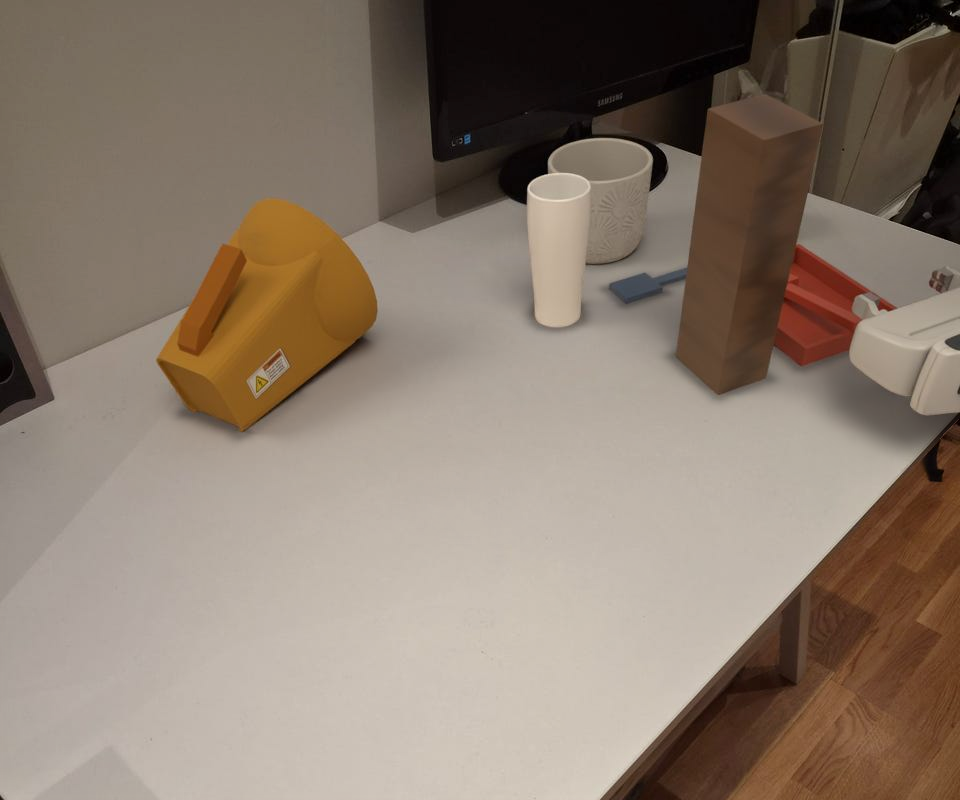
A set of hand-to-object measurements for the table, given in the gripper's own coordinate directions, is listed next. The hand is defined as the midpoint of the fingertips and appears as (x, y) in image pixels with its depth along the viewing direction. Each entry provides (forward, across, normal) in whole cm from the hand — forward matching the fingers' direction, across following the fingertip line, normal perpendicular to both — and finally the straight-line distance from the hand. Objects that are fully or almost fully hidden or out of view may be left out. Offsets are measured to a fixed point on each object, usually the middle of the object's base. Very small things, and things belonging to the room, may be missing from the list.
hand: (898, 287), depth 85 cm
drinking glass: (+25, +24, +9) cm, 36 cm away
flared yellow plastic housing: (+30, +57, +9) cm, 65 cm away
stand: (+7, +14, +9) cm, 18 cm away
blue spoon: (+25, +7, +9) cm, 28 cm away
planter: (+37, +12, +9) cm, 40 cm away
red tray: (+12, 0, +9) cm, 15 cm away
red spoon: (+11, 0, +7) cm, 13 cm away
